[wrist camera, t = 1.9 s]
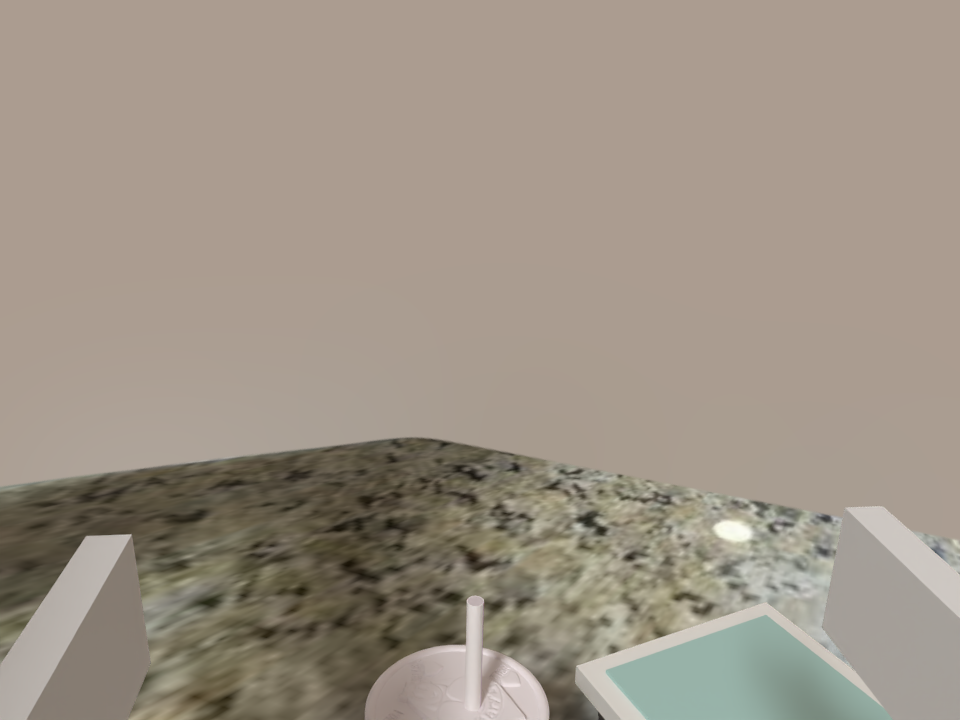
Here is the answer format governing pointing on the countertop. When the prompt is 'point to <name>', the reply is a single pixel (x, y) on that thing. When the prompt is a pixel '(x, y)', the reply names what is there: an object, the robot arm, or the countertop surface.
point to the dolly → (729, 675)
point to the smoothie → (458, 683)
